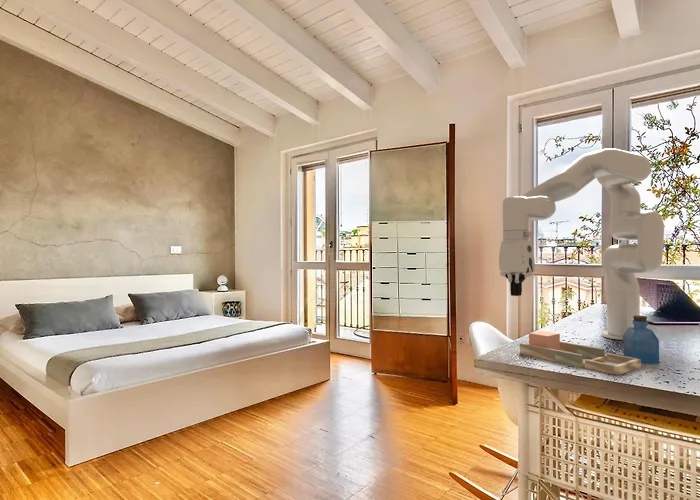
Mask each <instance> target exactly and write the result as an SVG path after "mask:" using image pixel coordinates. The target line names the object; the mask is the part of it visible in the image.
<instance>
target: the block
mask: <svg viewBox="0 0 700 500" xmlns="http://www.w3.org/2000/svg"><path fill="white" fill-rule="evenodd" d="M560 335H561V334H560V333H558V332H551V331H545V330H538V331H537V330H536V331H533V332H532V331H531V332H528V344H529V345H534V346H539V347H545V348H550V349H555V350H560V341H561V340H560V338H561V337H560Z"/></svg>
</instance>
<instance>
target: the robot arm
mask: <svg viewBox="0 0 700 500" xmlns="http://www.w3.org/2000/svg"><path fill="white" fill-rule="evenodd" d="M651 165H652V164H651V162H650V161H649V160H648V158H646V157H645V156H643V155H641V154H639V153H634V152H632V151H631V152H630V151H627V150H622V149H618V148H613V147H612V148H609V147H608V148H603V149H599V150H595V151H591V152H588V153H584V154H582V155H581V156H579V157H578V158H576V159H575V160H574V161H573V162H572V163H571V164H569V165H568V166H566V167H565V168H564V169H563V170H561V171H560V172H559V173H557V174H556V175H554V176H553V177H550V178H549V179H547V180H545V181H543V182H542V183H540V184H539V185H536V186H535V187H533V188H532V189H530V190H528V191H527V192H525V193H524V194H523V195H520V196H519V195H518V196H515V195H514V196H507V197H505V198H503V200H502V241H501V242H500V248H499V253H498V255H499V256H498V268H499V271H500V276H501V277H504V278H506V279H507V281H508V283H509V286H510V287H509V289H510V296H512V297H519V296H522V292H523V285H522V284H523V283H524V281H525V280H526V279H528V278H532V277H533V272H535V271H536V270H535V269H536V265H535V264H536V263H535V253H534V246H533V243H532V240H529V239H530V237H532V235H533V234H532V232H530V230H529V222H536V221H537V222H538V221H544V220H548V219H550V218H551V217H552V216H553V215H554V214H555V213H556V209H557V208H556V207H557V206H556V202H561V201H563V200H566V199H568V198H571V197H573V196H575V195H576V194H578V193H579V192H580V191H581V190H583V189H584V188H585V187H586V186H587V185H588V184H590V183H591V182H593V181H594V180H597V181H598V183H599V184H600V185H601V186H602V187H603V188H604V189H605V190H606V192H607V193H608V195H609V198H610V218H609V233H610V236H611V237H612V238H613V239H615V240H618V241H636V242H637V243H618V244H613V245H610V246H608V247H607V248H606V249H605V250H604V251H603V253H602V264H603V269H604V274H605V281H606V285H605V286H606V330H603V331H602V332H601V335H602V337H604V338H607V339H611V340H618V341H623V335H624V333H625V332H626V331H627V329H628V328H629V327H634V324H633V320H634V318H633V316H641V306H640V305H641V299H640V298H641V297H640V296H641V295H640V288H641V287H640V284H639V280H638V279H637V277H636V275H635V274H652V273H656V272H657V271H658V270H659V269H660V267H661V265H662V262H663V257H664V256H663V253H664V243H665V241H664V239H665V224H664V220H663V218H662V216H661V215H660V213H658V212H657V211H654V210H641V195H640V193H639V191H638V189H636V187H635V186H634V185H633V184H634V183H639V182H643V181H644V180H646V179H647V178H648V177H649V176H650V174H651V171H652V169H651V168H652V167H651Z"/></svg>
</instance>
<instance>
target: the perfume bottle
mask: <svg viewBox="0 0 700 500" xmlns="http://www.w3.org/2000/svg"><path fill="white" fill-rule="evenodd" d="M633 318H634V320H633V324H634V327H629V328H628V329H627V331H626V332H625V333H624V335H623V340H622V345H623V346H622V347H623V348H622V349H623V350H622V352H623V354H622V356H626V357H632V358H637V359H641V364H645V365H646V364H650V365H651V364H653V365H660V340H659V338H658V337H657V336H656V334H655V332H654V330H653V329H650V328H648V327H647V326H649V321H648V320H647V319H648V316H646V315H640V316H633Z"/></svg>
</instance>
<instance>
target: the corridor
mask: <svg viewBox="0 0 700 500" xmlns="http://www.w3.org/2000/svg"><path fill="white" fill-rule="evenodd" d="M519 355H522V356H523V355H525V356H529V357H533V358H539V359H543V360H547V361H551V362H556V363H560V364H566V365H569V366H570V365H571V366H575V367H578V368H579V367H580V368H583V369H589V370H591V371H593V370H594V371H597V372H603V373H606V374H612V375H616V376H619V375H622V374H625V373H628V372H630V371H633V370H636V369H640V368H642V363H641V359H637V358H632V357H626V356H623V355H619V354H615V353H609V352H608V353H606V355H605V348H601V347H595V346H591V345H584V344H578V343H571V342H565V341H562V340H560V350H555V349H550V348H545V347H539V346H534V345H529V343H524V342H523V343H522V342H520V343H519ZM584 358H589V359H584Z"/></svg>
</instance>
